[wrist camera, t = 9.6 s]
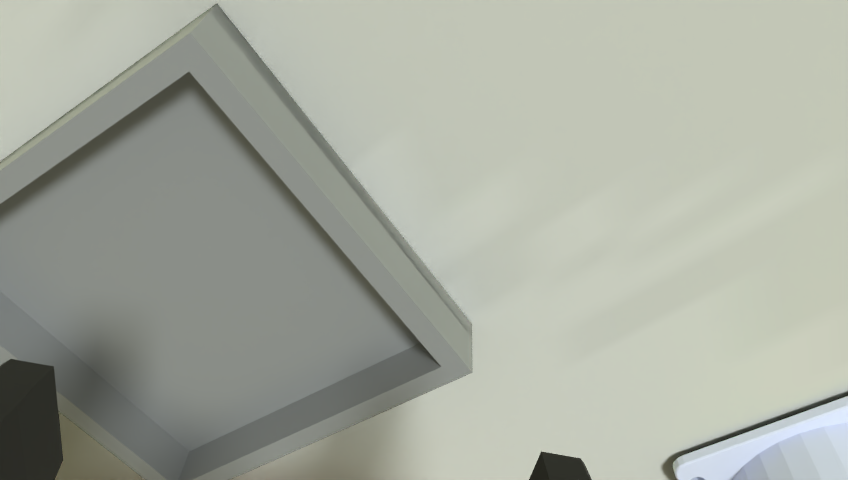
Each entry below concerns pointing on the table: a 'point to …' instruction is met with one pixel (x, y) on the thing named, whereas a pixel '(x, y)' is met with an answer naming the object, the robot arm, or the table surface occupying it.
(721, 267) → the table surface
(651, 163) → the table surface
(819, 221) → the table surface
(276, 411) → the tray
